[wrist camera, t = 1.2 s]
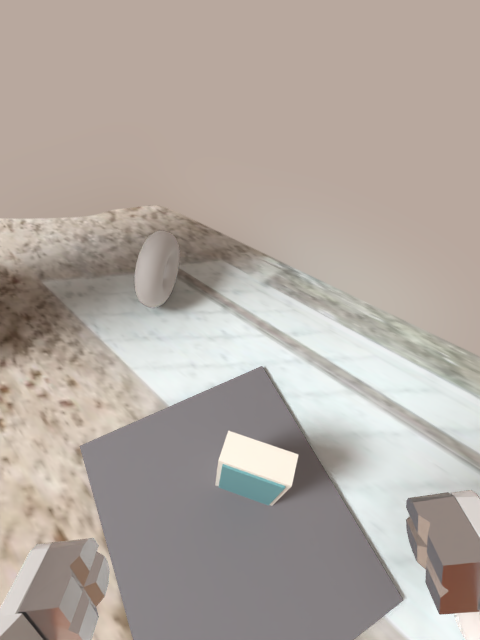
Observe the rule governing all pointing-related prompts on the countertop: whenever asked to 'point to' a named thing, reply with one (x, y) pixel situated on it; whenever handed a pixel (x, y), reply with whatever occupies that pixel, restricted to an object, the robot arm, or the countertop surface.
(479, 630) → the muffin
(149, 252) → the donut
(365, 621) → the mat
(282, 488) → the card box
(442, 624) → the countertop surface
